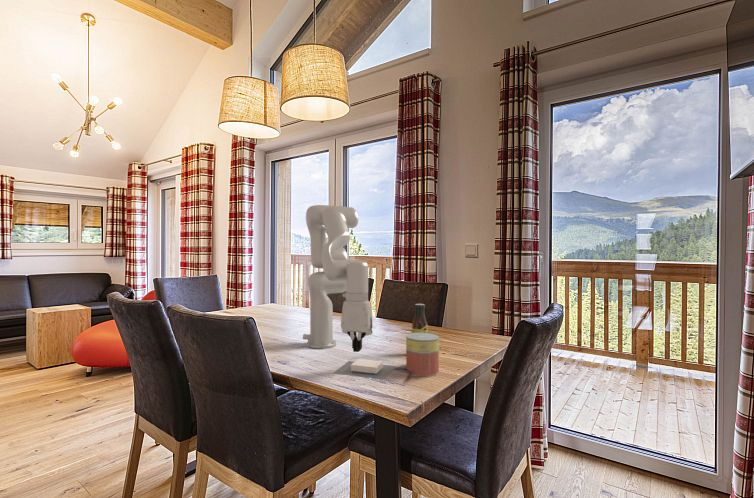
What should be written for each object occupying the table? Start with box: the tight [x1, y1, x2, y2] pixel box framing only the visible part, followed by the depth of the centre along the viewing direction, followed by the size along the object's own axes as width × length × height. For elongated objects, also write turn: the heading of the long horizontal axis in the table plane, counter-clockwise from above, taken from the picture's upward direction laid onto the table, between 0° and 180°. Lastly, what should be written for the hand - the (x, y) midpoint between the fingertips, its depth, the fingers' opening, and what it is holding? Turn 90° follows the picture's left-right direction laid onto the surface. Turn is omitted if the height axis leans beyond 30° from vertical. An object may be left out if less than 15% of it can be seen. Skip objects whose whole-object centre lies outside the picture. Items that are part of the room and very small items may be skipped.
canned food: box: [405, 332, 440, 378], centre depth 132 cm, size 11×11×12 cm
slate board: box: [332, 360, 397, 381], centre depth 130 cm, size 18×14×1 cm
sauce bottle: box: [411, 303, 429, 333], centre depth 151 cm, size 7×6×20 cm
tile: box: [351, 358, 384, 374], centre depth 130 cm, size 2×7×9 cm
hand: (357, 350), depth 131 cm, fingers closed
